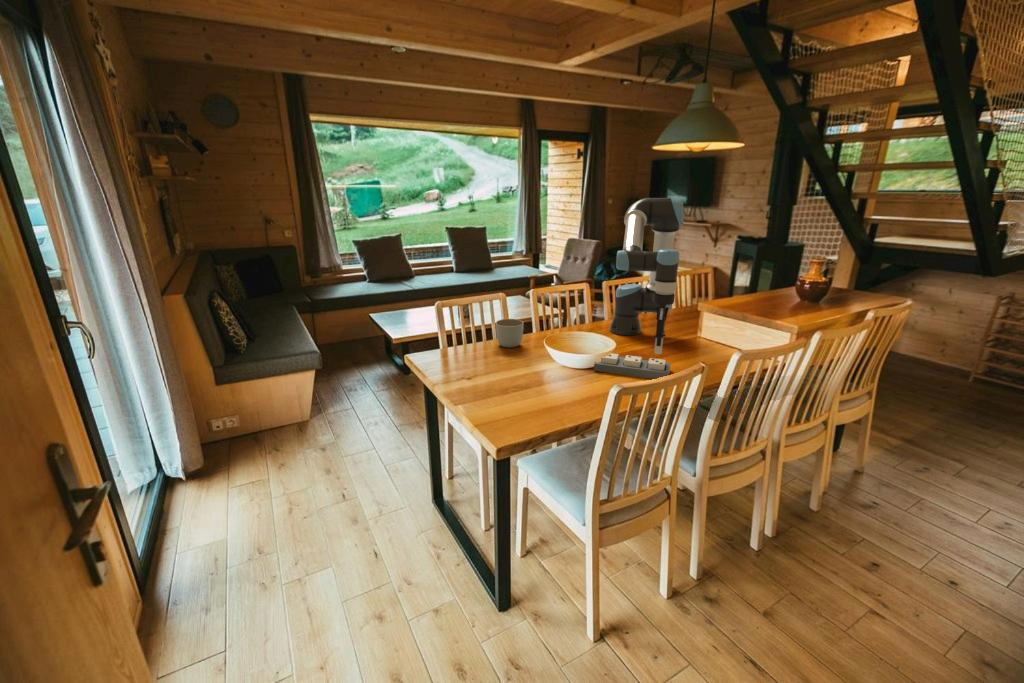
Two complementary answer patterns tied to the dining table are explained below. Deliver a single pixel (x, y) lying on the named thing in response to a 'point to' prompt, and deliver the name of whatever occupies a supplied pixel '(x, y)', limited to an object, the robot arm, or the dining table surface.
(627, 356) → the tile two pips
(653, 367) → the tile three pips
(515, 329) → the planter
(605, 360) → the tile one pip
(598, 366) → the board
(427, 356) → the dining table surface
